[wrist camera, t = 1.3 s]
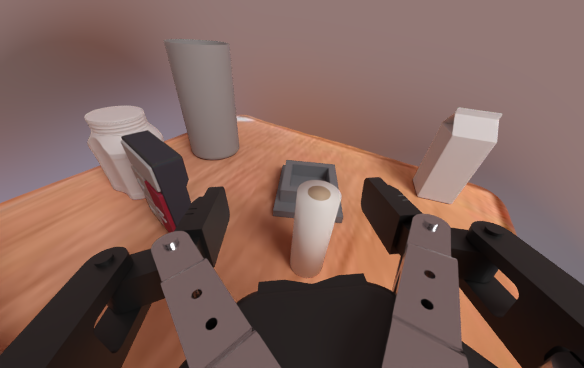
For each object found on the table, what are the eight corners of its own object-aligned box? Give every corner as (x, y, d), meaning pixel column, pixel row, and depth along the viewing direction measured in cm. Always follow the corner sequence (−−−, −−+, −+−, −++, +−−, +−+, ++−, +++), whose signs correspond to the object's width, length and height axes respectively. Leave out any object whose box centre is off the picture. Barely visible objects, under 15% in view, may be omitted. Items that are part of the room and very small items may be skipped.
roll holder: (273, 215, 39) (273, 198, 36) (282, 169, 52) (283, 154, 49) (341, 223, 39) (346, 205, 36) (334, 175, 52) (337, 159, 49)
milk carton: (451, 205, 45) (513, 120, 34) (416, 197, 47) (464, 113, 35) (442, 186, 51) (493, 108, 39) (412, 180, 52) (452, 102, 41)
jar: (184, 179, 46) (163, 112, 37) (142, 204, 39) (103, 129, 30) (150, 164, 50) (123, 100, 41) (106, 185, 43) (62, 113, 34)
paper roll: (288, 276, 30) (295, 205, 21) (291, 247, 34) (298, 177, 25) (322, 279, 30) (343, 210, 21) (321, 250, 34) (339, 181, 25)
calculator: (150, 213, 38) (113, 136, 29) (174, 202, 40) (147, 129, 31) (179, 248, 32) (144, 168, 23) (204, 233, 35) (182, 155, 26)
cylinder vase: (204, 138, 63) (184, 38, 48) (244, 142, 63) (236, 43, 47) (183, 158, 53) (149, 40, 38) (231, 163, 53) (215, 46, 38)
